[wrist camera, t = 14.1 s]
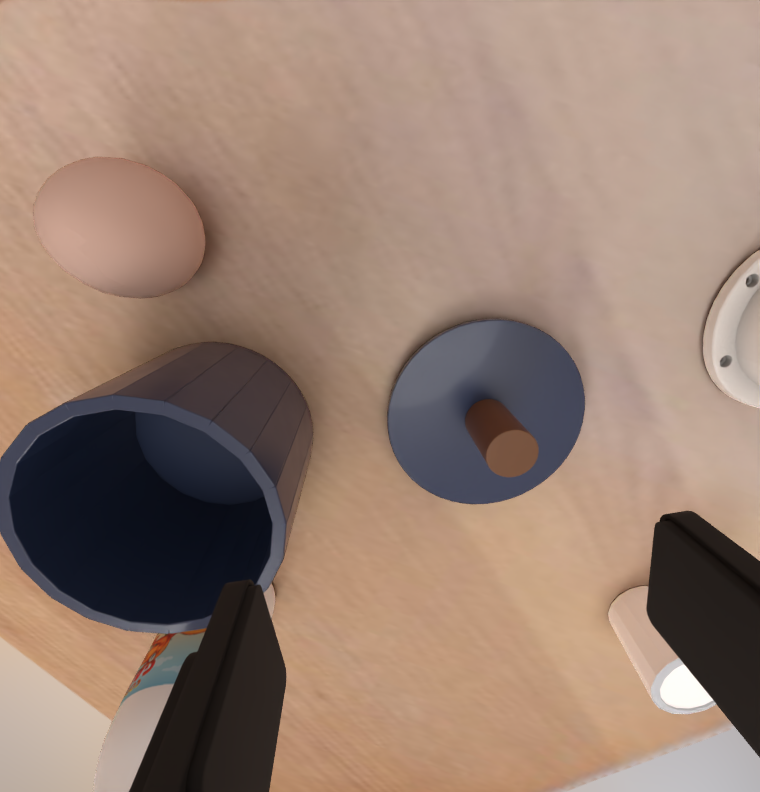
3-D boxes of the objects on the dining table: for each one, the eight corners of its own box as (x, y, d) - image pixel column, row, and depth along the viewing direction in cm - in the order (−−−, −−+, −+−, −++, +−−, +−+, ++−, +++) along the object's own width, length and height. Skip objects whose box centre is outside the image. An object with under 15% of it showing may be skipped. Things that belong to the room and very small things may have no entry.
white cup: (683, 620, 38) (749, 695, 32) (613, 647, 39) (664, 727, 33) (664, 568, 36) (731, 638, 30) (591, 599, 37) (640, 674, 30)
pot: (248, 307, 28) (173, 341, 17) (345, 462, 32) (335, 571, 21) (89, 396, 29) (-73, 479, 18) (201, 532, 33) (122, 667, 22)
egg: (220, 178, 25) (136, 134, 16) (229, 292, 27) (160, 311, 18) (106, 173, 25) (-48, 125, 15) (125, 289, 27) (0, 307, 18)
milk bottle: (275, 556, 34) (166, 925, 15) (278, 626, 37) (187, 1017, 18) (181, 554, 34) (-49, 932, 15) (191, 625, 36) (3, 1025, 17)
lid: (538, 279, 28) (589, 286, 21) (601, 447, 32) (659, 495, 26) (351, 375, 29) (348, 408, 23) (436, 522, 34) (452, 584, 27)
